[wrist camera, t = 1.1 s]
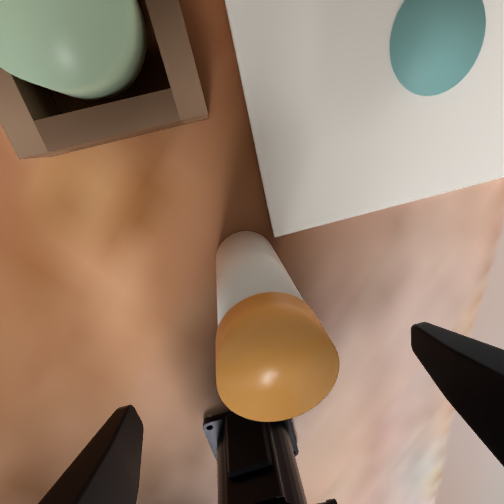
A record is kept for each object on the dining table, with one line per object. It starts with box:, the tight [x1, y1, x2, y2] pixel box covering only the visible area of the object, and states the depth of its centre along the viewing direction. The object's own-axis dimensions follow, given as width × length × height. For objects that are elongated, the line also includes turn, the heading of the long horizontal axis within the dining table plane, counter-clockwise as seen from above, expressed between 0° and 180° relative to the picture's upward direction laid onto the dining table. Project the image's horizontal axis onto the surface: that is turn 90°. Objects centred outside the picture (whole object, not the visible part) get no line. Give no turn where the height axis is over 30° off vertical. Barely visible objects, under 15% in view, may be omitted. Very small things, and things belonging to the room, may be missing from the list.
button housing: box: [0, 0, 209, 159], centre depth 11 cm, size 8×8×2 cm
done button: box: [0, 0, 147, 100], centre depth 10 cm, size 5×5×3 cm
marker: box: [215, 231, 339, 422], centre depth 13 cm, size 4×4×9 cm
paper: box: [224, 0, 504, 237], centre depth 14 cm, size 14×16×1 cm
